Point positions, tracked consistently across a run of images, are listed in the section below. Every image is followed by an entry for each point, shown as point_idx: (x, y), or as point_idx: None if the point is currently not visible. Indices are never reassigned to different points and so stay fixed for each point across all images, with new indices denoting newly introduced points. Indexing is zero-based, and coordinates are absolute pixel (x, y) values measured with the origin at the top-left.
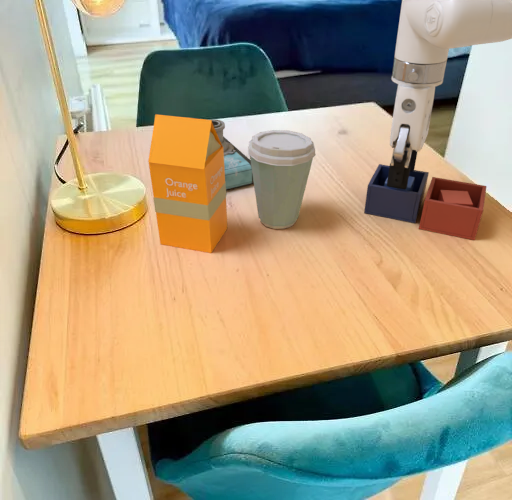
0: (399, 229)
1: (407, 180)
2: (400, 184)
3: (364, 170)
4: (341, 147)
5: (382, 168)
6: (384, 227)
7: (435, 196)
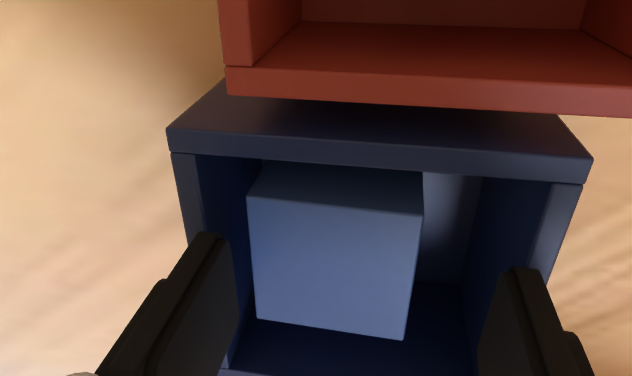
0: (600, 144)
1: (559, 323)
2: (574, 337)
3: (117, 307)
4: (9, 372)
5: (233, 352)
6: (586, 209)
7: (289, 7)
